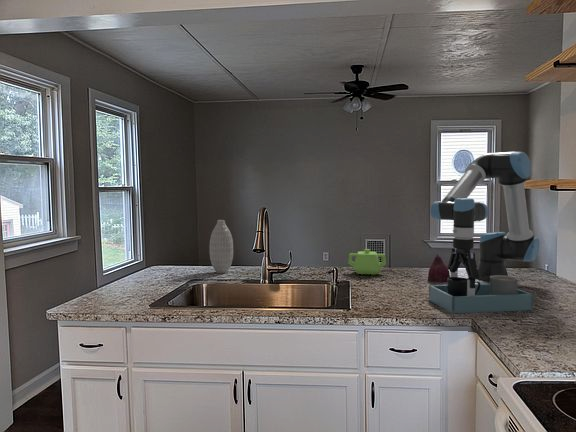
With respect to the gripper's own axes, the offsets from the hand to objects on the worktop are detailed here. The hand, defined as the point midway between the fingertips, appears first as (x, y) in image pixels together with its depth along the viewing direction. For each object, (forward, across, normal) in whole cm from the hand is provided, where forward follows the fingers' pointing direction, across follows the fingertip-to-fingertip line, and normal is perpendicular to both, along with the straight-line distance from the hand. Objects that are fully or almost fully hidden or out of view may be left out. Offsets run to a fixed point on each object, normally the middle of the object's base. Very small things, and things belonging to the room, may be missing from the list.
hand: (462, 292), depth 185 cm
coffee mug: (+4, +1, +16) cm, 17 cm away
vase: (+5, -83, -94) cm, 126 cm away
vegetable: (+6, -46, +12) cm, 48 cm away
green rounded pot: (+6, -71, -17) cm, 73 cm away
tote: (+5, 0, +7) cm, 9 cm away
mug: (+4, +1, 0) cm, 4 cm away
